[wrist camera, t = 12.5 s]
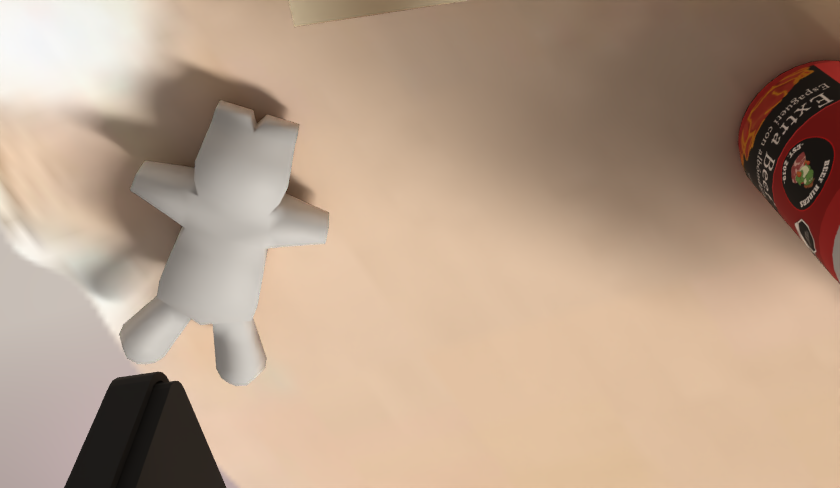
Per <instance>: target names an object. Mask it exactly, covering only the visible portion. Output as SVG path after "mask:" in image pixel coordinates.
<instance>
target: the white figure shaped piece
mask: <svg viewBox="0 0 840 488" xmlns="http://www.w3.org/2000/svg"><path fill="white" fill-rule="evenodd" d="M298 129H299V124H297V123H294V122H290V121H287V120H284V119H281V118H277V117H274V116H271V115H268V114H267V115H266V116H265V117H264V118H263V119H262V120H260V121H259V122H258V123H257V122H256V119H255V115H254V111H253V110H251V109H248V108H245V107H242V106H238V105H235V104H232V103H229V102H225V101H222V100H220V101H219V103H218V105H217V107H216V109H215V112H214V115H213V119H212V122H211V124H210V126H209V129H208V131H207V133H206V136H205V138H204V141H203V143H202V145H201V148H200V150H199V153H198V155H197V158H196V160H195V167H188V166H181V165H174V164H166V163H159V162H152V161H144V162H143V164H142V165H141V167H140V169H139V170H138V172H137V173H136V175H135V178H134V180H133V183H132V186H131V189H130V191H132V192H133V193H135V194H136V195H138V196H139V197H141V198H142V199H144V200H145V201H147V202H148V203H150V204H151V205H153V206H154V207H155V208H157V209H158V210H160V211H161V212H163V213H164V214H166V215H167V216H169V217H170V218H172V219H173V220H174V221H176V222H177V223H179V224H180V225H181V226H182V228H181V231H180V233H179V235H178V237H177V240H176V242H175V244H174V247H173V249H172V251H171V254H170V256H169V258H168V261H167V263H166V265H165V268H164V271H163V273H162V276H161V279H160V281H159V287H158V293H157V296H156V297H155V298H154V299H153V300H151V301H150V302H149V303H148V304H147V305H146V306H144V307H143V308H142V309H141V310H140V311H139V312H137V313H136V314H135V315H134V316H133V317H132V318H131V319H129V320H128V321H127V322H126V323H125V324H124V325H123V327H122V329H121V331H120V334H119V335H120V339H121V343H122V347H123V350H124V352H125V355H126V357H127V359H129V360H131V361H133V362H135V363H137V364H151V363H155V362H157V361H158V360H160V359H162V358H163V357H164V356H165V355H166V354H167V352H168V351H169V349H170V348H171V346H172V345H173V344H174V342H175V341H176V339H177V338H178V337H179V335H180V334H181V332H182V331H183V329H184V328H185V327H186V325H187V324H188V322H189V321H190V320H191V319H192V320H194V321H195V322H197V323H199V324H200V325H205V324H213V333H214V345H215V357H216V369H217V371H218V373H219V374H220V376H221V378H222V379H224V380H225V381H226V382H228V383H230V384H232V385H235V386H242V385H248V384H249V383H250V382H251V381H252V380H254V379H255V378H256V377H257V376H258V375H259V374H260V373H261V372H262V371H263V370H264V369H265V366H266V355H265V352H264V349H263V346H262V343H261V340H260V337H259V334H258V331H257V328H256V325H255V322H254V319H253V316H254V313H255V311H256V308H257V305H258V300H259V294H260V289H261V283H262V278H263V273H264V267H265V262H266V256H267V251H268V248H277V247H288V246H302V245H315V244H325V243H326V238H327V233H328V228H329V213H328V212H326V211H324V210H322V209H320V208H317V207H315V206H313V205H311V204H308V203H306V202H304V201H302V200H300V199H297V198H295V197H293V196H291V195H288V194H286V193H285V192H286V190H287V189H288V184H289V178H290V172H291V167H292V160H293V154H294V148H295V143H296V139H297V135H298Z"/></svg>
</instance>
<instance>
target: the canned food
mask: <svg viewBox="0 0 840 488" xmlns="http://www.w3.org/2000/svg"><path fill="white" fill-rule="evenodd" d="M738 146H739V152H740V157H741V162H742V166H743V168H744V170H745V172H746V175H747V176H748V178H749V179H750V180H751V181H752V183H753V184H754V185H755V186H756V188H757V189H758V190H759V191H760V192H761V193H762V195H763V196H764V197H765V198H766V199H767V200H768V202H769V203H770V204H771V205H772V206H773V207H774V208H775V210H776V211H777V212H778V213H779V214H780V215H781V217H782V218H783V219H784V220H785V221H786V222H787V224H788V225H789V226H790V227H791V228H792V229H793V231H794V232H795V233H796V234H797V235H798V236H799V238H800V239H801V240H802V241H803V242H804V243H805V245H806V246H807V247H808V248H809V249H810V250H811V252H812V253H813V254H814V255H815V256H816V257H817V258H818V260H819V261H820V262H821V263H822V264H823V265H824V267H825V268H826V269H827V270H828V271H829V272H830V274H831V275H832V276H833V277H834V278H835V279H836V280H837V281H838V282H839V283H840V61H829V60H823V61H816V62H809V63H806V64H803V65H800V66H797V67H794V68H792V69H790V70H788V71H786V72H784V73H782V74H781V75H779V76H778V77H777V78H775V79H774V80H772V81H771V82H770V83H768V84H767V85H766V86H765V87H764V88H763V89H762V90H761V91H760V92H759V93H758V94H757V96H756V97H755V98H754V100H753V101H752V102H751V104H750V105H749V107H748V109H747V111H746V113H745V115H744V117H743V119H742V123H741V126H740V130H739V140H738Z"/></svg>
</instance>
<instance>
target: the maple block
mask: <svg viewBox="0 0 840 488" xmlns="http://www.w3.org/2000/svg"><path fill="white" fill-rule="evenodd" d="M462 1H468V0H288V2H289V6H290V11H291V15H292V19H293V24H294V27H298V26H304V25H311V24H317V23H324V22H331V21H337V20H344V19H350V18H357V17H363V16H370V15H377V14H383V13H390V12H396V11H403V10H409V9H416V8H422V7H429V6H436V5H442V4H449V3H455V2H462Z"/></svg>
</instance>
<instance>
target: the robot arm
mask: <svg viewBox="0 0 840 488" xmlns="http://www.w3.org/2000/svg"><path fill="white" fill-rule="evenodd" d="M64 488H226V486H225V483H224V481H223V479H222V476H221V474H220V472H219V469H218V467H217V465H216V462H215V460H214V458H213V455H212V453H211V451H210V448H209V446H208V443H207V441H206V439H205V436H204V434H203V432H202V429H201V427H200V425H199V422H198V420H197V418H196V415H195V413H194V411H193V408H192V406H191V404H190V401H189V399H188V397H187V394H186V392H185V390H184V388H183V386H182V384H181V383H180V382H179V381H171V382H169V380H168V378H167V376H166V375H165V374H163V373H162V372H153V373H146V374H140V375H133V376H126V377H119V378H116V379H114V380H113V381H112V383H111V384H110V386H109V388H108V390H107V392H106V394H105V397H104V399H103V401H102V403H101V406H100V408H99V410H98V413H97V415H96V417H95V419H94V422H93V424H92V426H91V428H90V431H89V433H88V435H87V437H86V440H85V442H84V444H83V446H82V449H81V451H80V453H79V455H78V458H77V460H76V462H75V465H74V467H73V469H72V471H71V474H70V476H69V478H68V481H67V483H66V485H65V487H64Z"/></svg>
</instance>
